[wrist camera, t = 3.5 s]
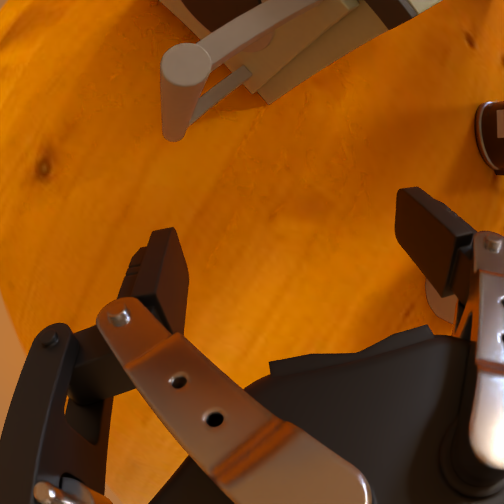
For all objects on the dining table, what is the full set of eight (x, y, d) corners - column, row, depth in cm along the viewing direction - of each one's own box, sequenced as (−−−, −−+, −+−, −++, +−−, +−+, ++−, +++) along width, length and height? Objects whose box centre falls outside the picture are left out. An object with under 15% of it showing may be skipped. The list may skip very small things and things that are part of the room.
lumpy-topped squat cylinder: (470, 319, 38) (514, 341, 29) (414, 317, 34) (466, 346, 26) (490, 249, 36) (538, 262, 28) (437, 230, 32) (496, 243, 24)
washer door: (259, 89, 23) (361, 4, 9) (178, 155, 23) (197, 113, 9) (150, -18, 19) (157, -143, 5) (69, 39, 18) (7, -68, 4)
